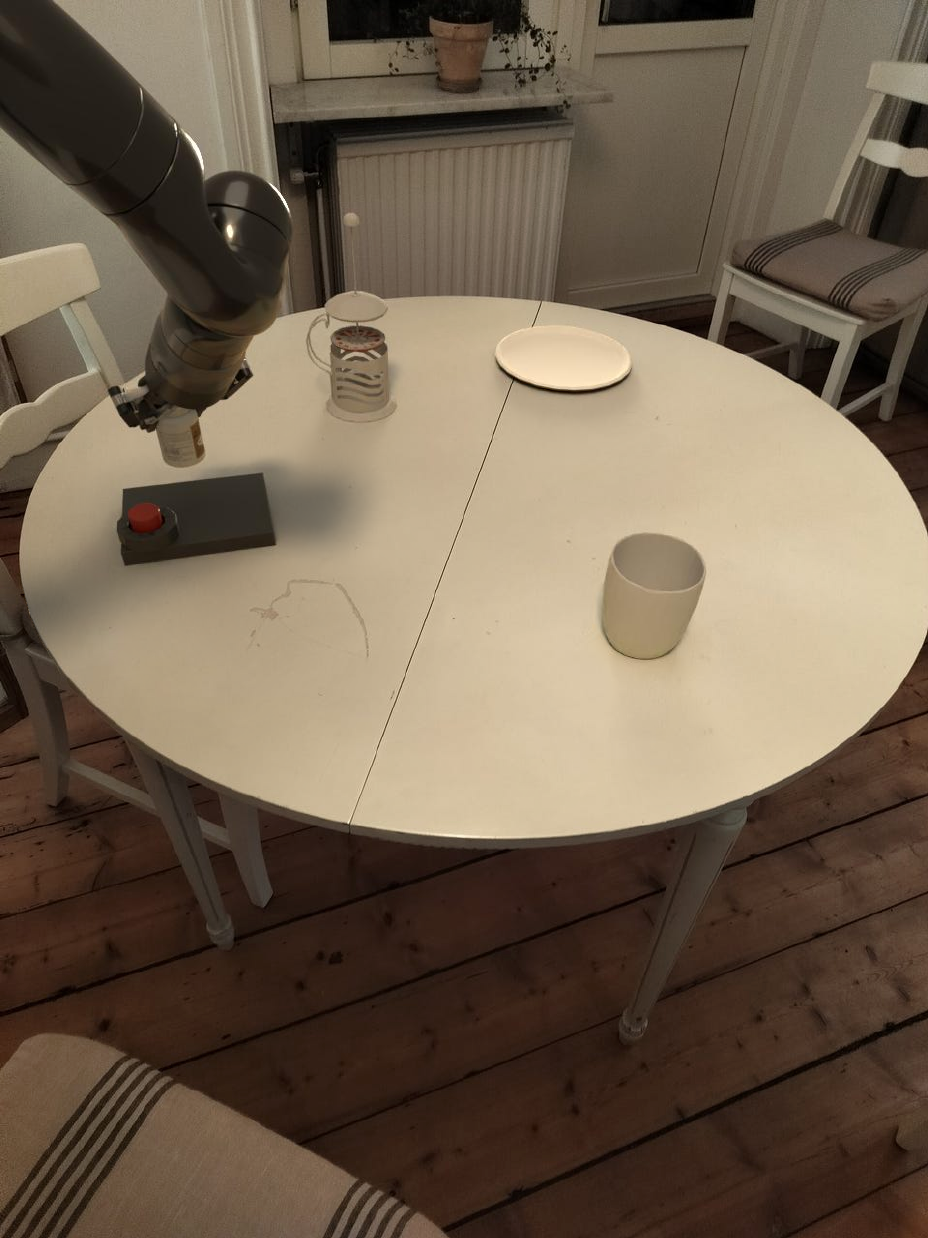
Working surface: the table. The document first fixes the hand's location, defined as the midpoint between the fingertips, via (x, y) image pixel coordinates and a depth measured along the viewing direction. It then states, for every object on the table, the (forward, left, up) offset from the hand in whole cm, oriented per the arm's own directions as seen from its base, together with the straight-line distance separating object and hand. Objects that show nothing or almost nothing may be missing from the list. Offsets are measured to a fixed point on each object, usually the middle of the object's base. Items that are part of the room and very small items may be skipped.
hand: (169, 416), depth 87 cm
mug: (+43, -29, -13) cm, 53 cm away
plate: (+56, +27, -13) cm, 63 cm away
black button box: (+1, -2, -13) cm, 13 cm away
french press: (+23, +21, -13) cm, 34 cm away
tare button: (-4, -5, -10) cm, 12 cm away
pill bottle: (+1, -2, -4) cm, 5 cm away
